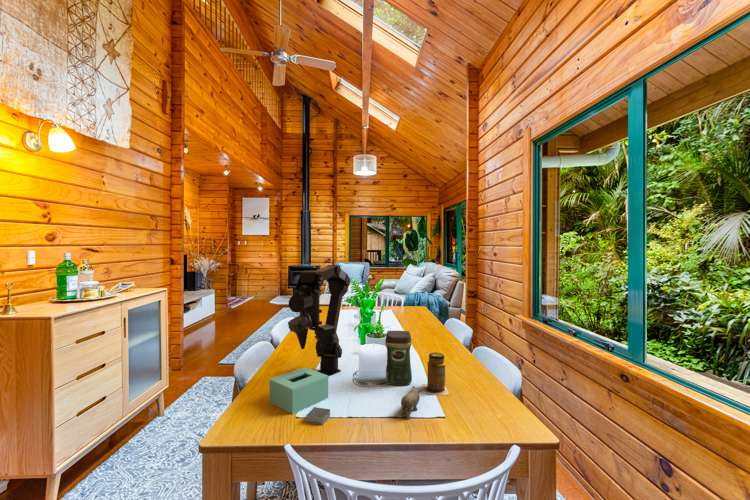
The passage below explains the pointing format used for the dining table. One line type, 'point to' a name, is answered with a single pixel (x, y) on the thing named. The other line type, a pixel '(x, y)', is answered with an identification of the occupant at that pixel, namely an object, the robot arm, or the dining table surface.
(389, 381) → the coffee jar
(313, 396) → the teal box
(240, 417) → the dining table surface
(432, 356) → the condiment
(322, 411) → the block
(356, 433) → the dining table surface
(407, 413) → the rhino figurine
